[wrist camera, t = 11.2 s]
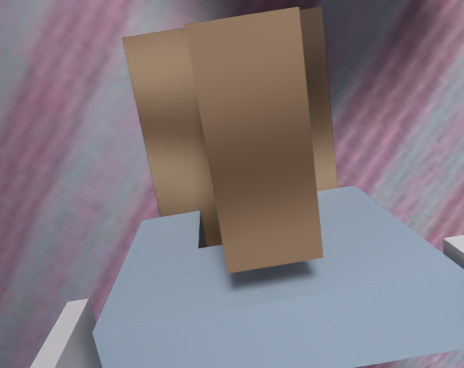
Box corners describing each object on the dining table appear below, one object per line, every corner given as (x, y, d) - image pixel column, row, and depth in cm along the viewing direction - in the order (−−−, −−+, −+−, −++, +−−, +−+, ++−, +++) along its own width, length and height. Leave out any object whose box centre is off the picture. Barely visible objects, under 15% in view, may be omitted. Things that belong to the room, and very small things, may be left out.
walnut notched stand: (126, 39, 21) (39, 4, 10) (317, 9, 21) (430, -57, 10) (199, 385, 27) (194, 592, 16) (347, 360, 27) (438, 549, 16)
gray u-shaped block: (153, 268, 23) (114, 408, 13) (142, 220, 22) (92, 332, 13) (358, 234, 23) (464, 349, 14) (354, 185, 22) (464, 270, 13)
